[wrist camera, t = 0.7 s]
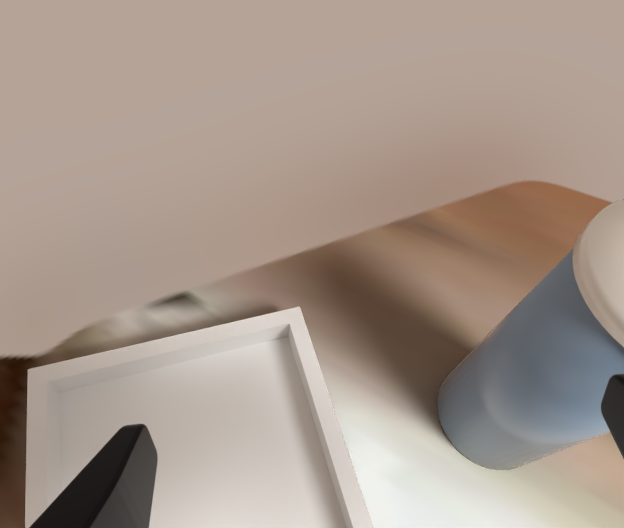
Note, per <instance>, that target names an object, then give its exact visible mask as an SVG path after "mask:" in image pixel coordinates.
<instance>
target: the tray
mask: <svg viewBox="0 0 624 528" xmlns="http://www.w3.org/2000/svg"><path fill="white" fill-rule="evenodd" d="M132 424H145V425H146V426H147V428H148V430H149V433H150V435H151V438H152V440H153V442H154V445H155V447H156V450H157V456H158V462H157V470H156V478H155V486H154V493H153V501H152V508H151V516H150V523H149V528H373V525H372V522H371V519H370V516H369V513H368V510H367V507H366V504H365V501H364V498H363V495H362V492H361V489H360V486H359V483H358V480H357V477H356V474H355V471H354V468H353V465H352V462H351V459H350V456H349V453H348V450H347V447H346V444H345V441H344V438H343V435H342V432H341V429H340V426H339V423H338V420H337V417H336V414H335V411H334V408H333V405H332V402H331V399H330V396H329V393H328V390H327V387H326V384H325V381H324V378H323V375H322V372H321V369H320V366H319V363H318V360H317V357H316V354H315V351H314V348H313V345H312V342H311V339H310V336H309V333H308V330H307V327H306V324H305V321H304V318H303V315H302V312H301V309H300V307H295V308H291V309H287V310H282V311H278V312H274V313H269V314H265V315H261V316H256V317H252V318H248V319H243V320H239V321H235V322H230V323H226V324H222V325H217V326H213V327H209V328H204V329H200V330H196V331H191V332H187V333H183V334H178V335H174V336H170V337H165V338H161V339H157V340H152V341H148V342H144V343H139V344H135V345H131V346H126V347H122V348H118V349H113V350H109V351H105V352H100V353H96V354H92V355H87V356H83V357H79V358H74V359H70V360H66V361H62V362H57V363H53V364H49V365H44V366H40V367H36V368H31V369H28V384H27V440H26V496H25V528H29V527H30V526H31V525H32V524H33V523H34V522H35V521H36V520H37V518H38V517H39V516H40V515H41V514H42V513H43V512H44V511H45V510H46V509H47V508H48V506H49V505H50V504H51V503H52V502H53V501H54V500H55V499H56V498H57V497H58V496H59V494H60V493H61V492H62V491H63V490H64V489H65V488H66V487H67V486H68V485H69V484H70V482H71V481H72V480H73V479H74V478H75V477H76V476H77V475H78V474H79V473H80V472H81V470H82V469H83V468H84V467H85V466H86V465H87V464H88V463H89V462H90V461H91V460H92V458H93V457H94V456H95V455H96V454H97V453H98V452H99V451H100V450H101V449H102V448H103V446H104V445H105V444H106V443H107V442H108V441H109V440H110V439H111V438H112V437H113V436H114V434H115V433H116V432H117V431H118V430H119V429H120V428H121V427H123V426H125V425H132Z"/></svg>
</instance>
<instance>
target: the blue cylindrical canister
mask: <svg viewBox="0 0 624 528" xmlns="http://www.w3.org/2000/svg"><path fill="white" fill-rule="evenodd" d="M615 374H624V199H622V200H619V201H616V202H614V203H612V204H610V205H608V206H607V207H605V208H604V209H603V210H601V211H600V212H599V213H598V214H597V216H596V217H595V218H594V219H593V220H592V221H591V222H590V223H589V224H588V225H587V226H586V227H585V228H584V229H583V230H582V231H581V233H580V234H579V236H578V238H577V239H576V242H575V245H574V248H573V249H572V250H571V251H570V252H569V253H568V254H567V255H566V256H565V257H564V258H563V259H562V260H561V261H560V262H559V263H558V264H557V265H556V266H555V267H554V268H553V269H552V271H551V272H550V273H549V274H548V275H547V276H546V277H545V278H544V279H543V280H542V281H541V282H540V283H539V284H538V285H537V286H536V287H535V288H534V289H533V290H532V291H531V292H530V293H529V294H528V295H527V296H526V297H525V298H524V299H523V300H522V301H521V302H520V303H519V304H518V305H517V306H516V307H515V308H514V309H513V310H512V311H511V312H510V313H509V314H508V315H507V316H506V317H505V318H504V319H503V320H502V321H501V322H500V323H499V324H498V325H497V326H496V327H495V328H494V329H493V330H492V331H491V332H490V333H489V334H488V335H487V336H486V337H485V338H484V339H483V340H482V341H481V342H480V343H479V344H478V345H477V346H476V347H475V348H474V349H473V350H472V351H471V352H470V353H469V354H468V355H467V356H466V357H465V358H464V359H463V360H462V361H461V362H460V363H459V364H458V365H457V366H456V367H455V368H454V369H453V370H452V371H451V372H450V373H449V374H448V375H447V376H446V377H445V379H444V380H443V382H442V384H441V386H440V388H439V392H438V397H437V410H438V416H439V420H440V423H441V426H442V428H443V430H444V432H445V434H446V436H447V437H448V439H449V440H450V442H451V443H452V444H453V446H454V447H455V448H456V449H457V450H458V451H459V452H460V453H461V454H462V455H464V456H465V457H466V458H467V459H469V460H471V461H472V462H474V463H476V464H478V465H480V466H482V467H485V468H489V469H494V470H510V469H513V468H517V467H519V466H522V465H525V464H527V463H530V462H533V461H535V460H538V459H540V458H543V457H546V456H548V455H551V454H554V453H556V452H559V451H562V450H564V449H567V448H569V447H572V446H575V445H577V444H580V443H583V442H585V441H588V440H591V439H593V438H596V437H599V436H601V435H604V434H606V433H609V432H610V430H609V428H608V426H607V424H606V422H605V420H604V418H603V416H602V412H601V402H602V399H603V396H604V393H605V390H606V387H607V384H608V381H609V379H610V377H611V376H613V375H615Z"/></svg>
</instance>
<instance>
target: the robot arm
mask: <svg viewBox="0 0 624 528" xmlns="http://www.w3.org/2000/svg"><path fill="white" fill-rule="evenodd" d="M601 412H602V416H603V418H604V420H605V422H606V424H607V426H608V428H609V430H610V432H611V434H612V436H613V438H614V440H615V442H616V444H617V446H618V448H619V450H620V452H621V454H622V456H623V458H624V374H615V375H613V376H611V377H610V379H609V381H608V384H607V387H606V390H605V393H604V396H603V399H602V402H601ZM157 462H158V456H157V450H156V447H155V445H154V442H153V440H152V438H151V435H150V433H149V430H148V428H147V426H146V425H145V424H132V425H125V426H123V427H121V428H120V429H119V430H118V431H117V432H116V433H115V434H114V436H113V437H112V438H111V439H110V440H109V441H108V442H107V443H106V444H105V445H104V446H103V448H102V449H101V450H100V451H99V452H98V453H97V454H96V455H95V456H94V457H93V458H92V460H91V461H90V462H89V463H88V464H87V465H86V466H85V467H84V468H83V469H82V470H81V472H80V473H79V474H78V475H77V476H76V477H75V478H74V479H73V480H72V481H71V482H70V484H69V485H68V486H67V487H66V488H65V489H64V490H63V491H62V492H61V493H60V494H59V496H58V497H57V498H56V499H55V500H54V501H53V502H52V503H51V504H50V505H49V506H48V508H47V509H46V510H45V511H44V512H43V513H42V514H41V515H40V516H39V517H38V518H37V520H36V521H35V522H34V523H33V524H32V525H31V526H30V527H29V528H149V523H150V516H151V508H152V501H153V493H154V486H155V478H156V470H157Z"/></svg>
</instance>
